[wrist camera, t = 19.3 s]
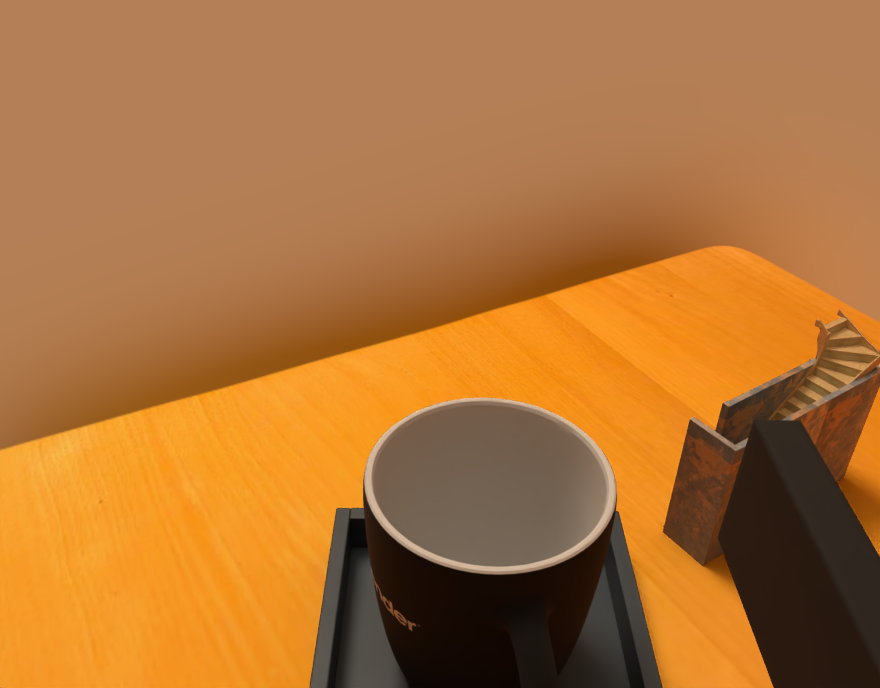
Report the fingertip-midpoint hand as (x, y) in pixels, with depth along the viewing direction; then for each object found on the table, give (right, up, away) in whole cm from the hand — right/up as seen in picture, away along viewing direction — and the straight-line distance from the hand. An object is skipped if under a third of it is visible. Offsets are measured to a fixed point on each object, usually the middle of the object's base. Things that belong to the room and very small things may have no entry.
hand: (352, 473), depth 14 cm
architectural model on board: (+18, -7, +29) cm, 35 cm away
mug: (+3, -12, +19) cm, 23 cm away
